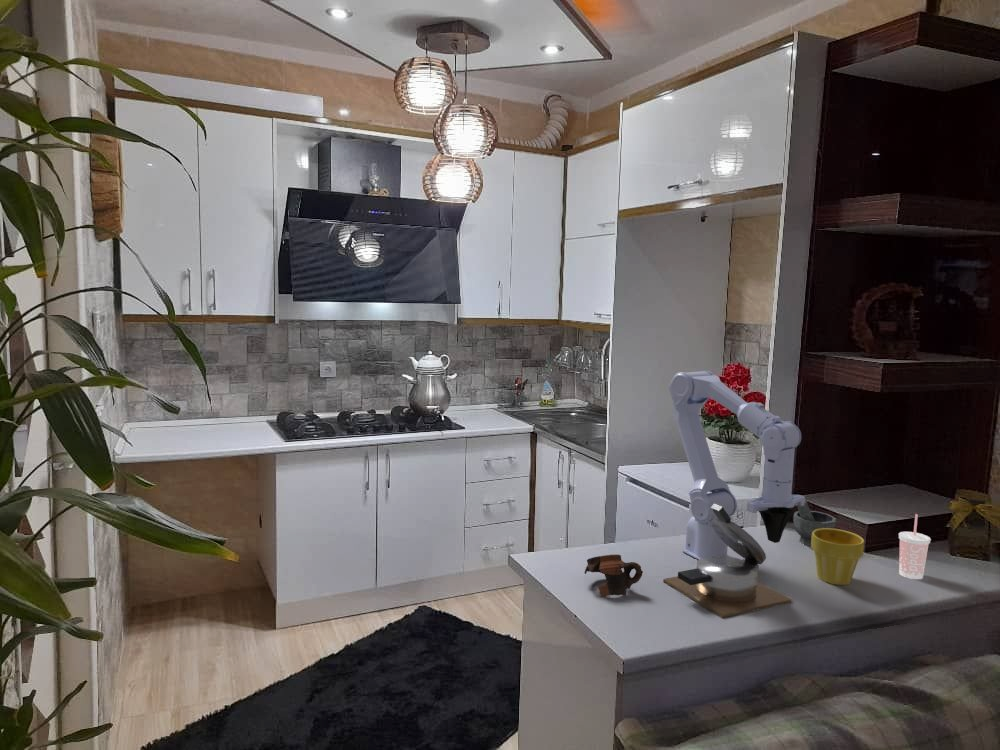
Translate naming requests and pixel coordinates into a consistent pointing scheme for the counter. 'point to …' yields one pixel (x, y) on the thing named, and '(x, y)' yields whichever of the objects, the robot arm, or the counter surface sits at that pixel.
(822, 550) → the plant pot
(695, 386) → the robot arm
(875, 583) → the counter surface
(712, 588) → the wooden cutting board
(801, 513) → the mortar and pestle
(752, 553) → the cooker lid
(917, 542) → the beverage cup
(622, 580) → the pottery mug
